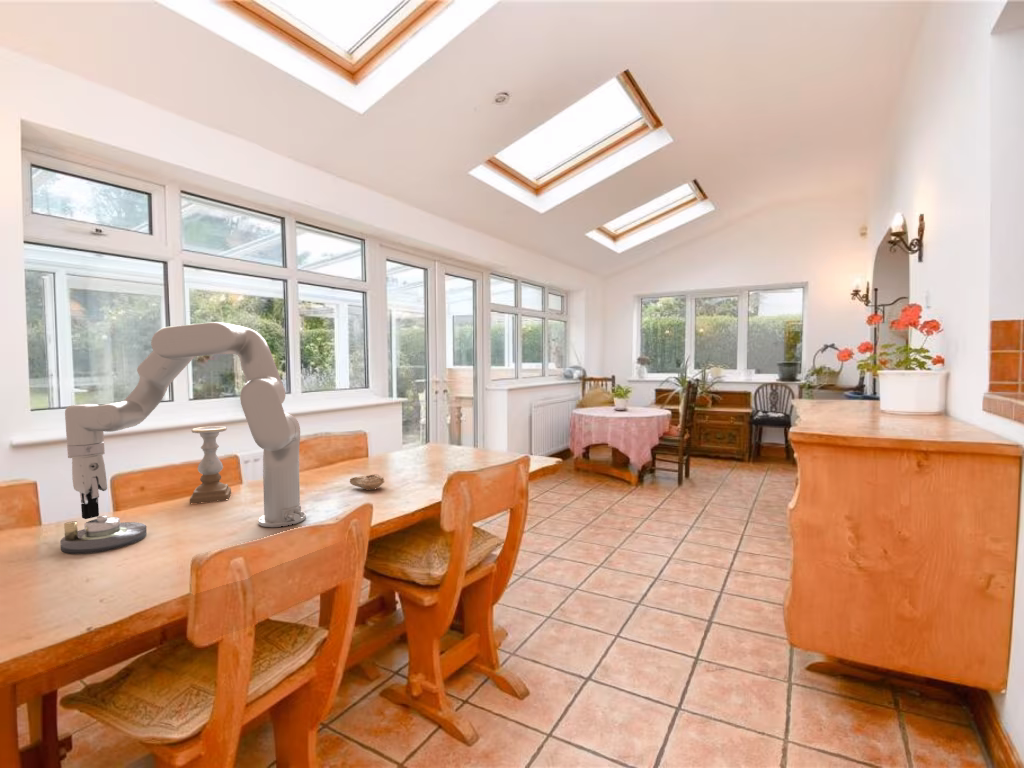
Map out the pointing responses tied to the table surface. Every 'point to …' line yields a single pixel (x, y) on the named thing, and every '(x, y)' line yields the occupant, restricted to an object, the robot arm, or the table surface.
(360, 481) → the pottery oil lamp
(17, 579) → the table surface
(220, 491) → the candle holder
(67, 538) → the turntable
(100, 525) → the cover
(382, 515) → the table surface
